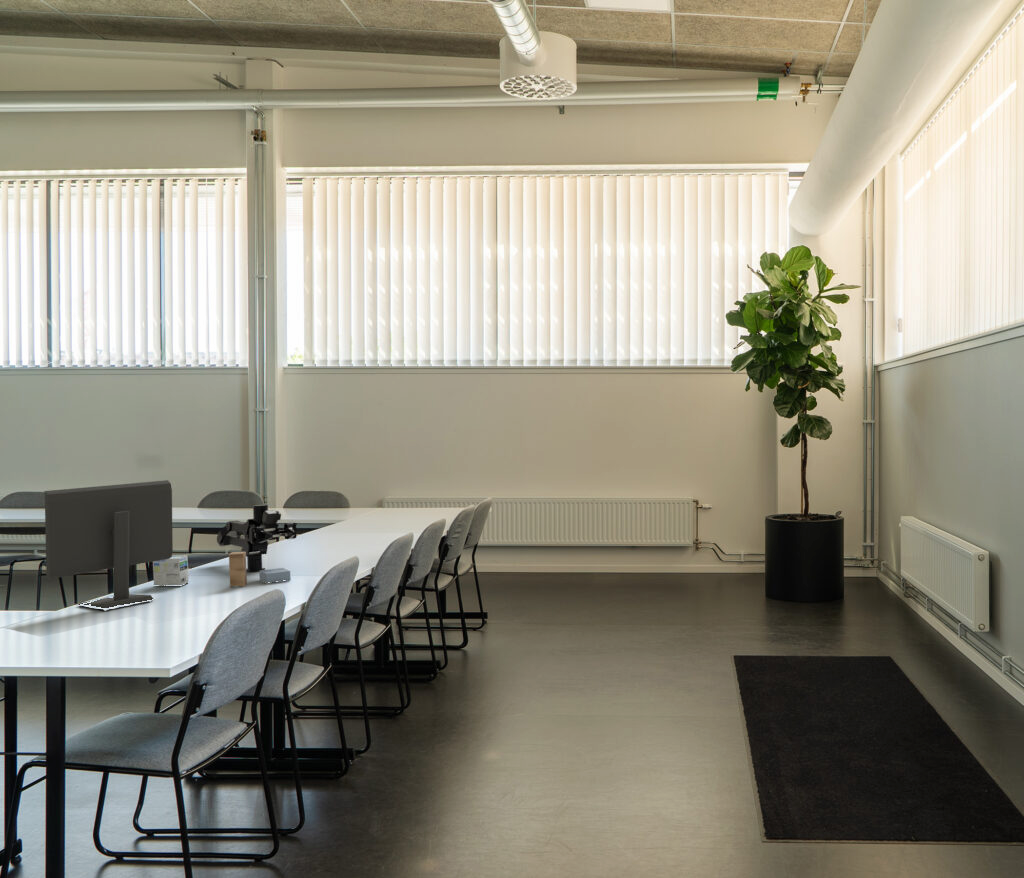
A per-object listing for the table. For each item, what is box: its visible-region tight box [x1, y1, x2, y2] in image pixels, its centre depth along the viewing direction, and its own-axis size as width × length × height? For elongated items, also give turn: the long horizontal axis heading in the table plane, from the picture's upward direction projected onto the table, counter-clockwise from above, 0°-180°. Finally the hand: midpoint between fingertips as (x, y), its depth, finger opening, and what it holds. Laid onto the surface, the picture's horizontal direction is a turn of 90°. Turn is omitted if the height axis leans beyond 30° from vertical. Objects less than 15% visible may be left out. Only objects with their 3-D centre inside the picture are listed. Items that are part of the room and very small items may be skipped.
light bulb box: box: [152, 555, 190, 586], centre depth 334 cm, size 11×7×11 cm, turn 84°
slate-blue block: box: [258, 567, 291, 584], centre depth 339 cm, size 9×9×4 cm
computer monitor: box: [44, 479, 174, 608], centre depth 302 cm, size 44×16×40 cm, turn 145°
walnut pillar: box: [228, 551, 248, 587], centre depth 330 cm, size 5×5×12 cm
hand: (283, 534), depth 343 cm, fingers open, 9 cm apart
